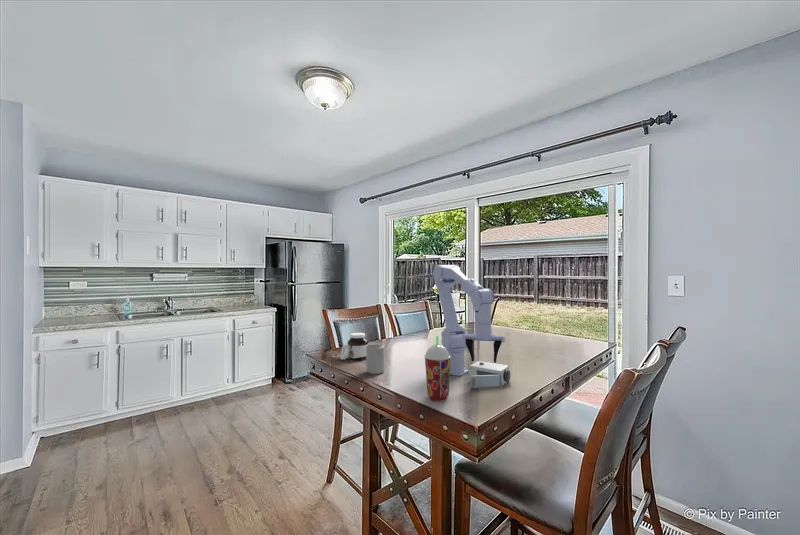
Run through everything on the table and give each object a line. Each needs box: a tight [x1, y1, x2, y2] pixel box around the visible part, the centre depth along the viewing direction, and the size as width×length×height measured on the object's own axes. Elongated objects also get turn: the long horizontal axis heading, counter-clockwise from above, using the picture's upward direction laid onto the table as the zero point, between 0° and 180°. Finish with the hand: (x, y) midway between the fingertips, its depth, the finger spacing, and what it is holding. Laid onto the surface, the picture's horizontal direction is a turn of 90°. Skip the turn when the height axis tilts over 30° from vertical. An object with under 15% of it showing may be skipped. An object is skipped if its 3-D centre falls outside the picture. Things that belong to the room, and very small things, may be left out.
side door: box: [470, 374, 503, 388], centre depth 119 cm, size 11×2×4 cm, turn 94°
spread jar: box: [340, 332, 369, 361], centre depth 160 cm, size 12×11×12 cm
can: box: [365, 341, 386, 375], centre depth 139 cm, size 8×8×12 cm
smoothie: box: [424, 335, 451, 402], centre depth 110 cm, size 8×8×20 cm
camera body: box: [469, 360, 511, 387], centre depth 127 cm, size 13×8×6 cm, turn 54°
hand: (483, 361), depth 121 cm, fingers open, 7 cm apart
